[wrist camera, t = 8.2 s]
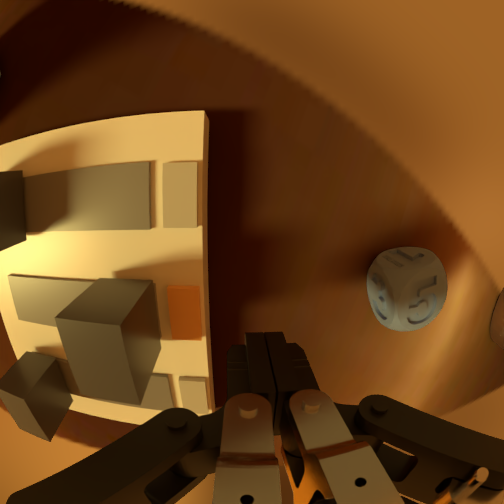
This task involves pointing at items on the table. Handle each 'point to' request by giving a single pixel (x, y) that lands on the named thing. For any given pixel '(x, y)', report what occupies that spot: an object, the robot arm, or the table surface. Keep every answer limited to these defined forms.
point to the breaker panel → (116, 245)
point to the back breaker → (36, 394)
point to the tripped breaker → (112, 338)
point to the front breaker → (11, 209)
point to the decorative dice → (406, 287)
